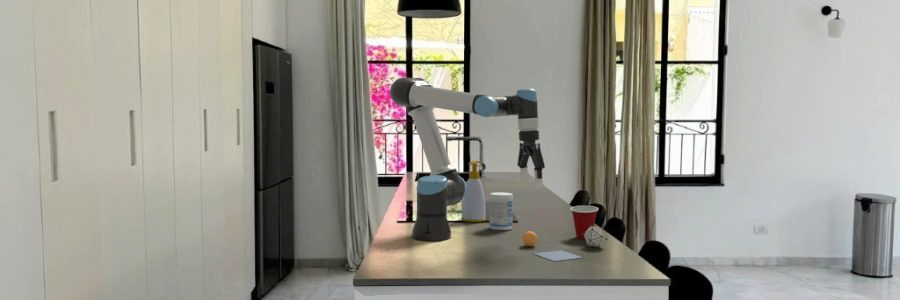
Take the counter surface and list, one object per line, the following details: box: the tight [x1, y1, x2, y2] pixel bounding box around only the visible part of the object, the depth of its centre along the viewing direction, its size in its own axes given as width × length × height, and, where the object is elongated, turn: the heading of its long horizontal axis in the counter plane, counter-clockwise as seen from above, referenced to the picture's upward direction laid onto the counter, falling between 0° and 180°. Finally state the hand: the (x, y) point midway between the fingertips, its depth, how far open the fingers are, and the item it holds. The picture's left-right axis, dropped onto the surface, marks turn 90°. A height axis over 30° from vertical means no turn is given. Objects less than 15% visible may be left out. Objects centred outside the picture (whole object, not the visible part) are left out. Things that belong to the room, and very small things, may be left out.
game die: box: [582, 225, 609, 249], centre depth 249 cm, size 9×8×10 cm
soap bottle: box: [460, 160, 487, 223], centre depth 299 cm, size 11×12×26 cm
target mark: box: [532, 250, 583, 262], centre depth 234 cm, size 12×12×1 cm
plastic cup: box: [570, 205, 599, 240], centre depth 265 cm, size 11×11×12 cm
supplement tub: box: [489, 191, 514, 231], centre depth 281 cm, size 10×10×15 cm
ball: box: [522, 230, 538, 247], centre depth 249 cm, size 6×6×6 cm
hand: (531, 186), depth 257 cm, fingers open, 13 cm apart
